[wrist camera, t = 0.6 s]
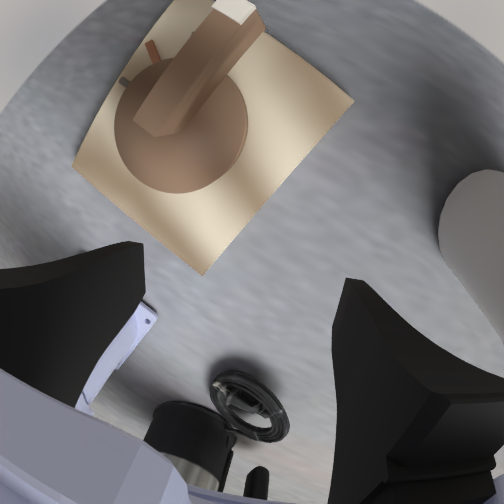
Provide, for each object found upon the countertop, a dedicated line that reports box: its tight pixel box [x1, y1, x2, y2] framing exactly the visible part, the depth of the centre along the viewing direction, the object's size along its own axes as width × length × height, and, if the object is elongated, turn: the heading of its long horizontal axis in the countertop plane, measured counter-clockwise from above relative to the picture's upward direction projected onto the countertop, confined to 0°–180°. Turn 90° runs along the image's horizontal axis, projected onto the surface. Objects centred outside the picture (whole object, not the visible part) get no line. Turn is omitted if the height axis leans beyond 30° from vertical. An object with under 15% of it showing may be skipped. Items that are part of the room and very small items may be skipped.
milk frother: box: [143, 371, 290, 500], centre depth 22 cm, size 14×16×15 cm
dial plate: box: [72, 0, 354, 276], centre depth 18 cm, size 14×12×1 cm
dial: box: [114, 0, 266, 194], centre depth 14 cm, size 11×8×5 cm
